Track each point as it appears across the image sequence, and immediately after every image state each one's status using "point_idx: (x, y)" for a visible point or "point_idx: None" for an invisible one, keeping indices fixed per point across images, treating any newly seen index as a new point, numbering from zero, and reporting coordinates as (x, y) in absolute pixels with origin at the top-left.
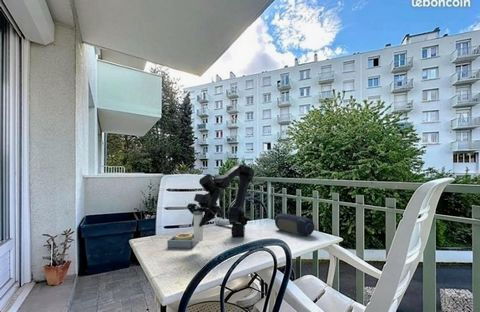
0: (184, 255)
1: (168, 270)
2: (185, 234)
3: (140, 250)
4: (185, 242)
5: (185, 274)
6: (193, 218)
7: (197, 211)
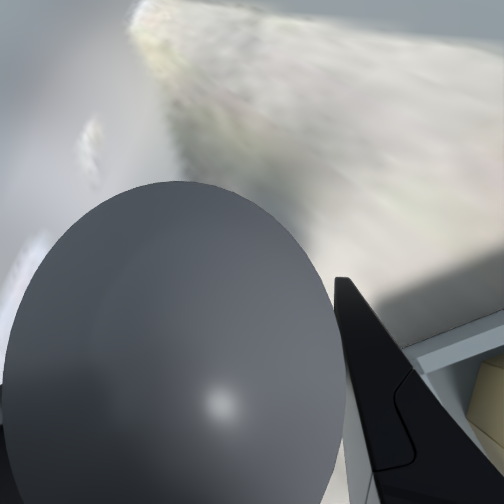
0: (330, 224)
1: (254, 71)
2: None
3: None
4: (459, 338)
5: (177, 91)
6: (378, 344)
7: (235, 466)
